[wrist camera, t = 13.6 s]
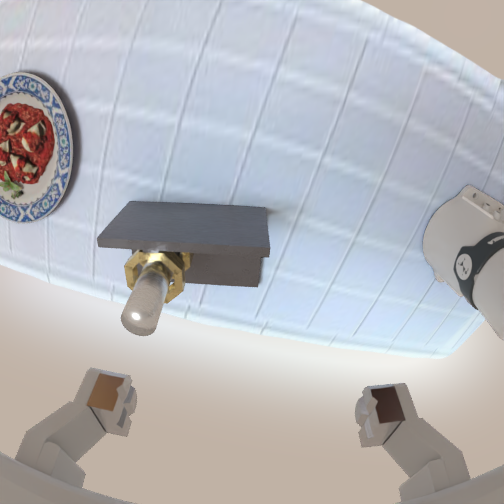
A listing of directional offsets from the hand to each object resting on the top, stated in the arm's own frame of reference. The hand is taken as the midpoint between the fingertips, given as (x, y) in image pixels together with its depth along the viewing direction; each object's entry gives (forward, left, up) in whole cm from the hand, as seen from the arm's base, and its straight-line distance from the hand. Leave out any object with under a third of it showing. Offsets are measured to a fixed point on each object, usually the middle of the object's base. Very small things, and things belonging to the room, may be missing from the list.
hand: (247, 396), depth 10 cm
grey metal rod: (+11, +14, -35) cm, 39 cm away
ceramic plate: (+38, -2, -36) cm, 53 cm away
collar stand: (+7, +14, -36) cm, 39 cm away
